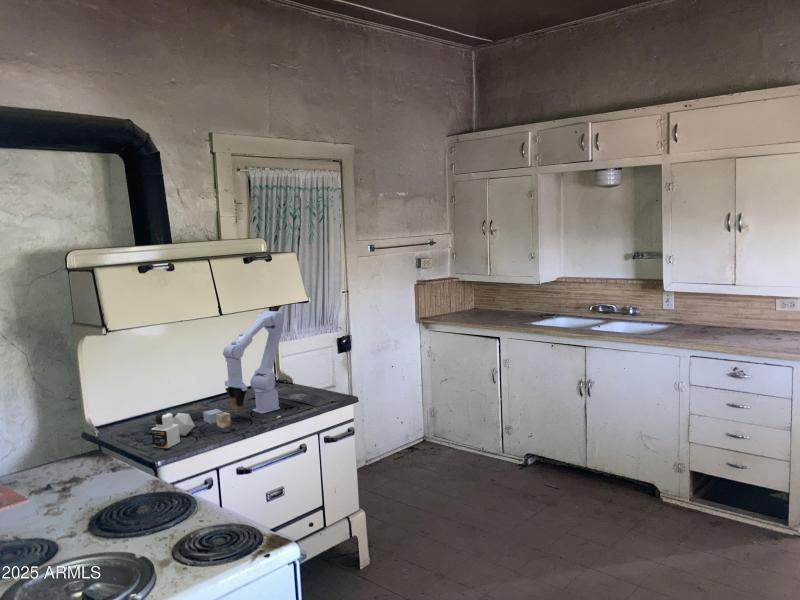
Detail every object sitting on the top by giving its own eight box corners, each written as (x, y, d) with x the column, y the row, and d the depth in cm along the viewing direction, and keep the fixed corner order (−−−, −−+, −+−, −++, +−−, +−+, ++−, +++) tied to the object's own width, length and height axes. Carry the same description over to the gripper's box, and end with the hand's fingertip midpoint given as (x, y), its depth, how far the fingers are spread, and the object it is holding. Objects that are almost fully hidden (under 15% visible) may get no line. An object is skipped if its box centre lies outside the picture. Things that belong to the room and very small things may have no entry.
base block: (217, 418, 279) (216, 408, 279) (223, 420, 275) (222, 411, 274) (203, 421, 275) (203, 412, 275) (210, 424, 271) (209, 414, 270)
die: (199, 433, 261) (192, 410, 265) (190, 429, 252) (183, 405, 256) (179, 442, 260) (173, 419, 264) (170, 438, 252) (163, 415, 256)
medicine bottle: (152, 447, 245) (149, 416, 243) (165, 440, 251) (162, 410, 250) (167, 448, 242) (164, 417, 241) (180, 442, 249) (177, 411, 247)
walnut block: (239, 406, 276) (238, 395, 276) (244, 408, 273) (243, 396, 273) (230, 408, 274) (229, 397, 273) (235, 410, 271) (234, 399, 270)
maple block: (225, 423, 270) (224, 412, 269) (230, 425, 267) (229, 413, 266) (216, 426, 267) (216, 414, 266) (222, 428, 264) (221, 416, 264)
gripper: (217, 372, 274) (220, 403, 276) (235, 377, 264) (238, 410, 265) (232, 369, 279) (234, 400, 281) (250, 374, 269) (253, 405, 270)
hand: (237, 404), depth 273 cm, fingers closed on walnut block, 4 cm apart
